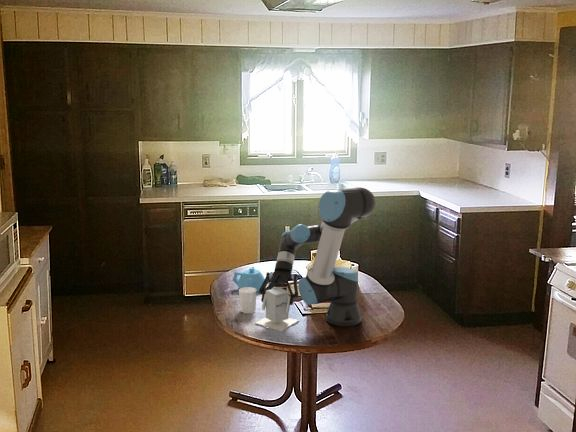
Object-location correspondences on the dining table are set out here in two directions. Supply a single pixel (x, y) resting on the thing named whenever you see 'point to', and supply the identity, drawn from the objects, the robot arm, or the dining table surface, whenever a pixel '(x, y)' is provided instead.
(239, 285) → the teapot
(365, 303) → the dining table surface
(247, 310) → the white cup
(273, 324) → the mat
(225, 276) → the dining table surface
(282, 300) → the supplement box
